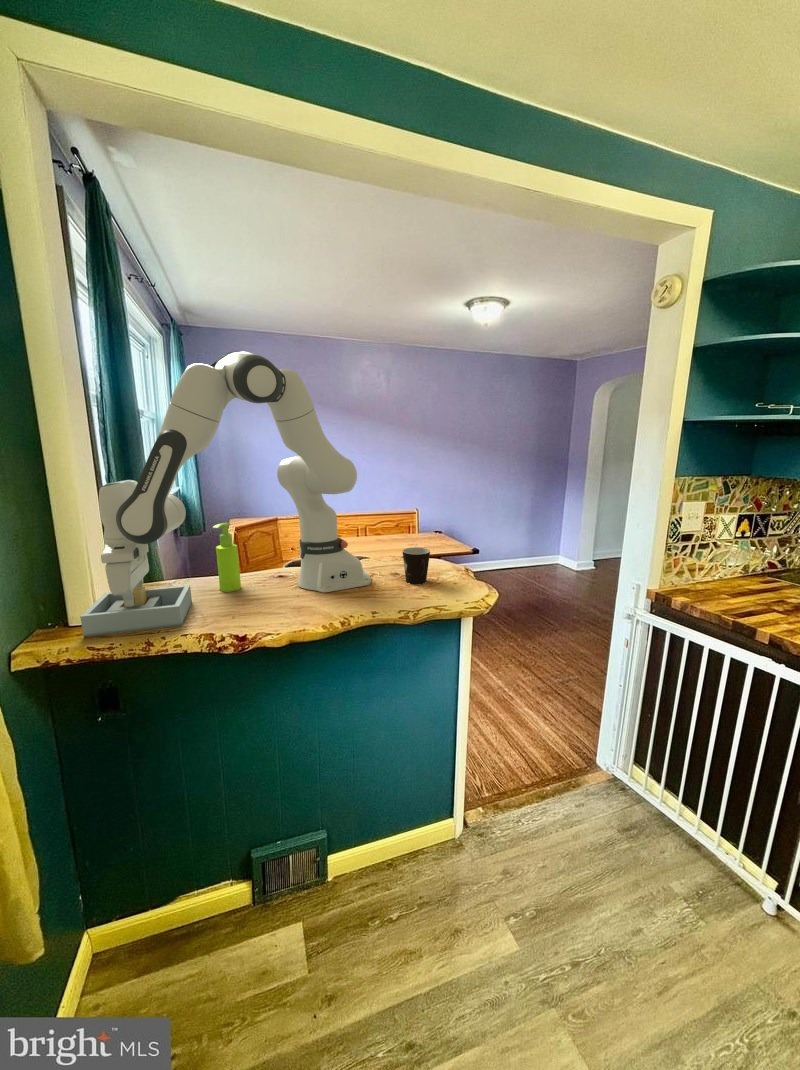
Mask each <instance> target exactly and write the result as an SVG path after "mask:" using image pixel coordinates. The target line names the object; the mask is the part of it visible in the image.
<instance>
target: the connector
mask: <svg viewBox="0 0 800 1070" xmlns="http://www.w3.org/2000/svg"><path fill="white" fill-rule="evenodd" d="M145 589H146V586H143V587H137V588H134V589H133V597H135V604H134V606H137V605H145V604H146V603H147V598H146V591H145ZM123 601H124V607H127V606H126V605H125V600H124V598H123Z"/></svg>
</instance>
